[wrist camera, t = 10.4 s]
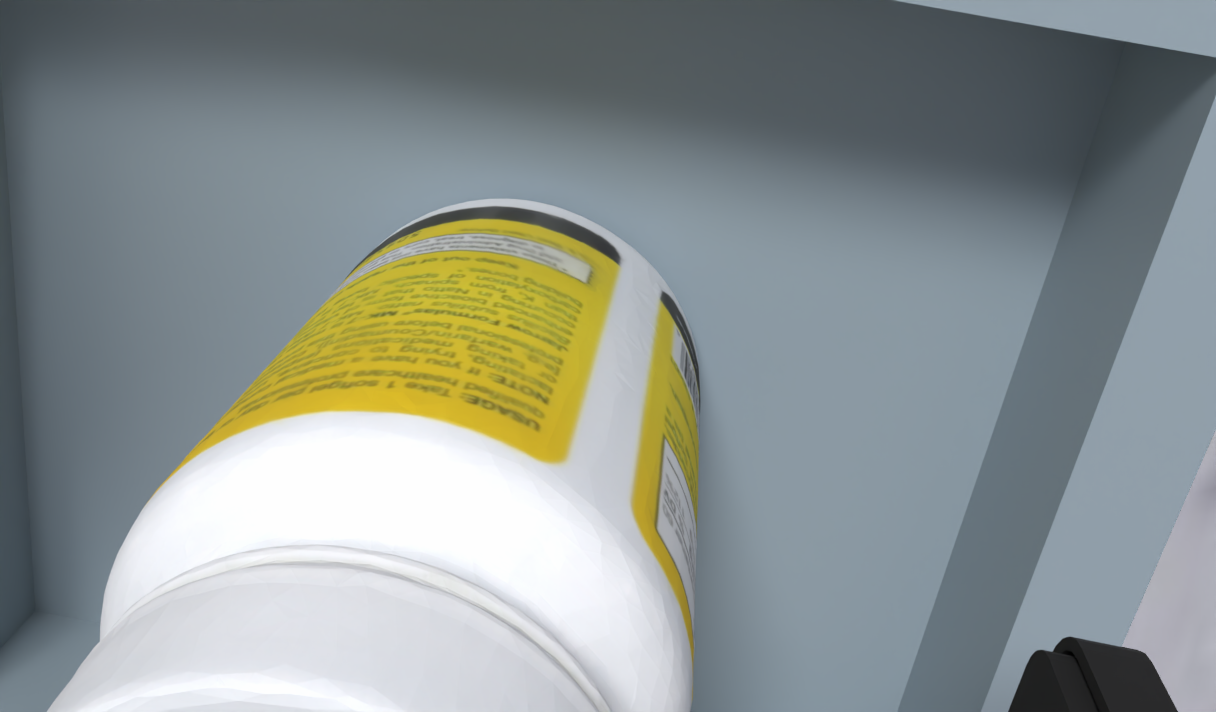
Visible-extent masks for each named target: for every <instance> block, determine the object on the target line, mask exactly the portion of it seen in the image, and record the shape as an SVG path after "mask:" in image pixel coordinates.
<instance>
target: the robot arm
mask: <svg viewBox="0 0 1216 712" xmlns="http://www.w3.org/2000/svg"><path fill="white" fill-rule="evenodd" d="M1008 712H1178V711H1177V709H1176V707H1175V705H1174V704H1173V702H1172V700H1171V698H1170V696H1169V694H1168V692H1167V690H1166V688H1165V686H1164V684H1163V683H1162V681H1161V679H1160V677H1159V675H1158V673H1157V671H1156V669H1155V667H1154V665H1153V663H1152V662H1151V660H1150V659H1149V658H1148V657H1147V655H1146V654H1145V653H1143V652H1141V651H1138V650H1134V649H1130V648H1125V647H1120V646H1115V645H1110V644H1105V643H1100V642H1095V641H1090V640H1085V639H1080V638H1075V637H1070V636H1069V637H1066V638H1063V639H1062V640H1061V641H1060V642H1059V643H1058V644H1057V645H1056V646H1055V648H1054V650H1053V652H1051V651H1046V650H1037V651H1035V652H1034V653H1033V654H1032V655H1031V657H1030V659H1029V661H1028V663H1027V665H1026V667H1025V670H1024V672H1023V675H1022V677H1021V680H1020V683H1019V685H1018V688H1017V690H1016V693H1015V695H1014V698H1013V700H1012V703H1011V705H1010V708H1009V710H1008Z"/></svg>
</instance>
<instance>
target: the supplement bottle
mask: <svg viewBox="0 0 1216 712" xmlns="http://www.w3.org/2000/svg"><path fill="white" fill-rule="evenodd" d="M699 422H700V374H699V364H698V357H697V352H696V347H695V342H694V339H693V335H692V332H691V329H690V327H689V324H688V321H687V319H686V317H685V314H684V312H683V310H682V308H681V306H680V305H679V303H678V301H677V299H676V297H675V296H674V294H673V292H672V291H671V289H670V288H669V286H668V285H667V284H666V282H665V281H664V279H663V278H662V277H661V276H660V274H659V273H658V272H657V271H656V270H655V269H654V267H653V266H652V265H651V264H650V263H649V262H648V261H647V260H646V259H645V258H644V257H643V256H642V255H640V254H639V253H638V252H637V251H636V250H635V249H634V248H632V247H631V246H630V245H628V244H627V243H626V242H624V241H623V240H621V239H620V238H619V237H617V236H616V235H614V234H613V233H612V232H610V231H608V230H607V229H605V228H604V227H602V226H600V225H598V224H596V223H594V222H592V221H590V220H588V219H586V218H584V217H582V216H580V215H577V214H575V213H572V212H570V211H567V210H565V209H562V208H559V207H556V206H552V205H548V204H544V203H540V202H534V201H529V200H520V199H483V200H475V201H468V202H464V203H459V204H455V205H451V206H447V207H444V208H441V209H438V210H436V211H433V212H430V213H428V214H426V215H424V216H422V217H420V218H418V219H415V220H413V221H411V222H410V223H408V224H406V225H405V226H403V227H401V228H400V229H398V230H397V231H396V232H394V233H393V234H392V235H390V236H389V237H388V238H386V239H385V240H384V241H383V242H381V243H380V244H379V245H378V246H377V247H376V248H375V249H374V250H373V251H371V252H370V253H369V254H368V255H367V256H366V257H365V258H364V259H363V260H362V261H361V262H360V263H359V264H358V265H357V266H356V267H355V268H354V269H353V270H352V271H351V272H350V274H349V275H348V276H347V277H346V279H345V280H344V281H343V282H342V284H341V285H340V286H339V287H338V288H337V289H336V290H335V291H334V292H333V294H332V295H331V296H330V297H329V298H328V299H327V300H326V301H325V303H324V304H323V305H322V306H321V307H320V308H319V309H318V310H317V311H316V313H315V314H314V315H313V316H312V317H311V318H310V319H309V320H308V322H307V323H306V324H305V325H304V326H303V327H302V328H301V329H300V331H299V332H298V333H297V334H296V335H295V336H294V337H293V338H292V340H291V341H290V342H289V343H288V344H287V345H286V346H285V347H284V348H283V350H282V351H281V352H280V353H279V354H278V355H277V356H276V358H275V359H274V360H273V361H272V362H271V363H270V364H269V365H268V366H267V368H266V369H265V370H264V371H263V372H262V373H261V374H260V375H259V376H258V377H257V379H256V380H255V381H254V382H253V383H252V384H251V385H250V386H249V388H248V389H247V390H246V391H245V392H244V393H243V394H242V395H241V396H240V398H239V399H238V400H237V401H236V402H235V403H234V404H233V406H232V407H231V408H230V409H229V410H228V411H227V412H226V413H225V414H224V415H223V416H222V417H221V419H220V420H219V421H218V422H217V423H216V424H215V426H214V427H213V428H212V429H211V430H210V431H209V432H208V434H207V435H206V436H205V437H204V438H203V439H202V440H201V441H200V442H199V443H198V444H197V445H196V446H195V447H194V448H193V450H192V451H191V452H190V453H189V454H188V455H187V456H186V458H185V459H184V460H183V462H182V463H181V464H180V465H179V466H178V467H177V468H176V469H175V470H174V471H173V472H172V473H171V475H170V476H169V477H168V478H167V479H166V480H165V481H164V482H163V483H162V484H161V485H160V487H159V488H158V489H157V490H156V491H155V493H154V494H153V495H152V497H151V498H150V499H149V501H148V502H147V503H146V505H145V506H144V507H143V509H142V511H141V512H140V514H139V516H138V517H137V519H136V521H135V522H134V524H133V526H132V527H131V529H130V531H129V533H128V535H127V537H126V538H125V540H124V542H123V544H122V546H121V548H120V550H119V552H118V554H117V556H116V559H115V561H114V564H113V567H112V569H111V572H110V575H109V578H108V582H107V585H106V589H105V592H104V599H103V607H102V614H101V623H100V642H99V643H98V644H97V645H96V646H95V647H94V648H93V650H92V651H91V652H90V653H89V655H88V656H87V657H86V659H85V660H84V661H83V663H82V664H81V665H80V667H79V668H78V670H77V671H76V673H75V675H74V676H73V678H72V679H71V680H70V682H69V683H68V684H67V685H66V687H65V688H64V689H63V690H62V692H61V693H60V694H59V695H58V697H57V698H56V699H55V701H54V702H53V703H52V705H51V706H50V708H49V709H48V710H47V712H690V710H691V705H692V700H693V662H694V649H695V641H694V616H695V578H696V549H697V511H698V471H699Z"/></svg>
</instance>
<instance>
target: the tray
mask: <svg viewBox="0 0 1216 712" xmlns="http://www.w3.org/2000/svg"><path fill="white" fill-rule="evenodd" d="M483 199H520V200H529V201H534V202H540V203H544V204H548V205H552V206H556V207H559V208H562V209H565V210H567V211H570V212H572V213H575V214H577V215H580V216H582V217H584V218H586V219H588V220H590V221H592V222H594V223H596V224H598V225H600V226H602V227H604V228H605V229H607V230H608V231H610V232H612V233H613V234H614V235H616V236H617V237H619V238H620V239H621V240H623V241H624V242H626V243H627V244H628V245H630V246H631V247H632V248H634V249H635V250H636V251H637V252H638V253H639V254H640V255H642V256H643V257H644V258H645V259H646V260H647V261H648V262H649V263H650V264H651V265H652V266H653V267H654V269H655V270H656V271H657V272H658V273H659V274H660V276H661V277H662V278H663V279H664V281H665V282H666V284H667V285H668V286H669V288H670V289H671V291H672V292H673V294H674V296H675V297H676V299H677V301H678V303H679V305H680V306H681V308H682V310H683V312H684V314H685V317H686V319H687V321H688V324H689V327H690V329H691V332H692V335H693V339H694V342H695V347H696V352H697V357H698V364H699V374H700V422H699V471H698V511H697V549H696V578H695V616H694V641H695V649H694V662H693V700H692V705H691V710H690V712H1008V710H1009V708H1010V705H1011V703H1012V700H1013V698H1014V695H1015V693H1016V690H1017V688H1018V685H1019V683H1020V680H1021V677H1022V675H1023V672H1024V670H1025V667H1026V665H1027V663H1028V661H1029V659H1030V657H1031V655H1032V654H1033V653H1034V652H1035V651H1037V650H1046V651H1051V652H1053V650H1054V648H1055V646H1056V645H1057V644H1058V643H1059V642H1060V641H1061V640H1062V639H1063V638H1066V637H1069V636H1070V637H1075V638H1080V639H1085V640H1090V641H1095V642H1100V643H1105V644H1110V645H1115V646H1120V647H1121V646H1122V644H1123V642H1124V639H1125V637H1126V635H1127V633H1128V630H1129V628H1130V626H1131V623H1132V621H1133V619H1134V616H1135V614H1136V612H1137V610H1138V607H1139V605H1140V603H1141V600H1142V598H1143V596H1144V593H1145V591H1146V589H1147V587H1148V584H1149V582H1150V580H1151V577H1152V575H1153V573H1154V570H1155V568H1156V566H1157V564H1158V561H1159V559H1160V557H1161V554H1162V552H1163V550H1164V547H1165V545H1166V543H1167V541H1168V538H1169V536H1170V534H1171V531H1172V529H1173V527H1174V524H1175V522H1176V520H1177V518H1178V515H1179V513H1180V511H1181V508H1182V506H1183V504H1184V501H1185V499H1186V497H1187V495H1188V492H1189V490H1190V488H1191V485H1192V483H1193V481H1194V478H1195V476H1196V474H1197V471H1198V469H1199V467H1200V465H1201V462H1202V460H1203V458H1204V455H1205V453H1206V451H1207V448H1208V446H1209V444H1210V442H1211V439H1212V437H1213V435H1214V432H1215V430H1216V0H0V712H47V710H48V709H49V708H50V706H51V705H52V703H53V702H54V701H55V699H56V698H57V697H58V695H59V694H60V693H61V692H62V690H63V689H64V688H65V687H66V685H67V684H68V683H69V682H70V680H71V679H72V678H73V676H74V675H75V673H76V671H77V670H78V668H79V667H80V665H81V664H82V663H83V661H84V660H85V659H86V657H87V656H88V655H89V653H90V652H91V651H92V650H93V648H94V647H95V646H96V645H97V644H98V643H99V642H100V623H101V614H102V607H103V599H104V592H105V589H106V585H107V582H108V578H109V575H110V572H111V569H112V567H113V564H114V561H115V559H116V556H117V554H118V552H119V550H120V548H121V546H122V544H123V542H124V540H125V538H126V537H127V535H128V533H129V531H130V529H131V527H132V526H133V524H134V522H135V521H136V519H137V517H138V516H139V514H140V512H141V511H142V509H143V507H144V506H145V505H146V503H147V502H148V501H149V499H150V498H151V497H152V495H153V494H154V493H155V491H156V490H157V489H158V488H159V487H160V485H161V484H162V483H163V482H164V481H165V480H166V479H167V478H168V477H169V476H170V475H171V473H172V472H173V471H174V470H175V469H176V468H177V467H178V466H179V465H180V464H181V463H182V462H183V460H184V459H185V458H186V456H187V455H188V454H189V453H190V452H191V451H192V450H193V448H194V447H195V446H196V445H197V444H198V443H199V442H200V441H201V440H202V439H203V438H204V437H205V436H206V435H207V434H208V432H209V431H210V430H211V429H212V428H213V427H214V426H215V424H216V423H217V422H218V421H219V420H220V419H221V417H222V416H223V415H224V414H225V413H226V412H227V411H228V410H229V409H230V408H231V407H232V406H233V404H234V403H235V402H236V401H237V400H238V399H239V398H240V396H241V395H242V394H243V393H244V392H245V391H246V390H247V389H248V388H249V386H250V385H251V384H252V383H253V382H254V381H255V380H256V379H257V377H258V376H259V375H260V374H261V373H262V372H263V371H264V370H265V369H266V368H267V366H268V365H269V364H270V363H271V362H272V361H273V360H274V359H275V358H276V356H277V355H278V354H279V353H280V352H281V351H282V350H283V348H284V347H285V346H286V345H287V344H288V343H289V342H290V341H291V340H292V338H293V337H294V336H295V335H296V334H297V333H298V332H299V331H300V329H301V328H302V327H303V326H304V325H305V324H306V323H307V322H308V320H309V319H310V318H311V317H312V316H313V315H314V314H315V313H316V311H317V310H318V309H319V308H320V307H321V306H322V305H323V304H324V303H325V301H326V300H327V299H328V298H329V297H330V296H331V295H332V294H333V292H334V291H335V290H336V289H337V288H338V287H339V286H340V285H341V284H342V282H343V281H344V280H345V279H346V277H347V276H348V275H349V274H350V272H351V271H352V270H353V269H354V268H355V267H356V266H357V265H358V264H359V263H360V262H361V261H362V260H363V259H364V258H365V257H366V256H367V255H368V254H369V253H370V252H371V251H373V250H374V249H375V248H376V247H377V246H378V245H379V244H380V243H381V242H383V241H384V240H385V239H386V238H388V237H389V236H390V235H392V234H393V233H394V232H396V231H397V230H398V229H400V228H401V227H403V226H405V225H406V224H408V223H410V222H411V221H413V220H415V219H418V218H420V217H422V216H424V215H426V214H428V213H430V212H433V211H436V210H438V209H441V208H444V207H447V206H451V205H455V204H459V203H464V202H468V201H475V200H483Z"/></svg>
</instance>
